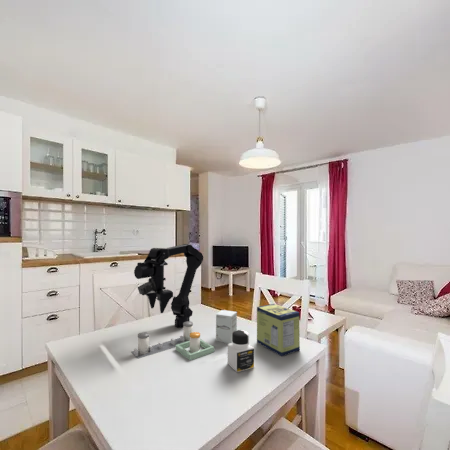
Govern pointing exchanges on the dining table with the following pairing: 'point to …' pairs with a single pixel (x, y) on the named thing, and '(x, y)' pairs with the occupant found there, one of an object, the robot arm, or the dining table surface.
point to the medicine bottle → (240, 351)
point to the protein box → (278, 329)
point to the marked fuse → (194, 342)
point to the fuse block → (147, 349)
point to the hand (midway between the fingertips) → (156, 310)
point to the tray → (194, 355)
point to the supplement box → (225, 326)
